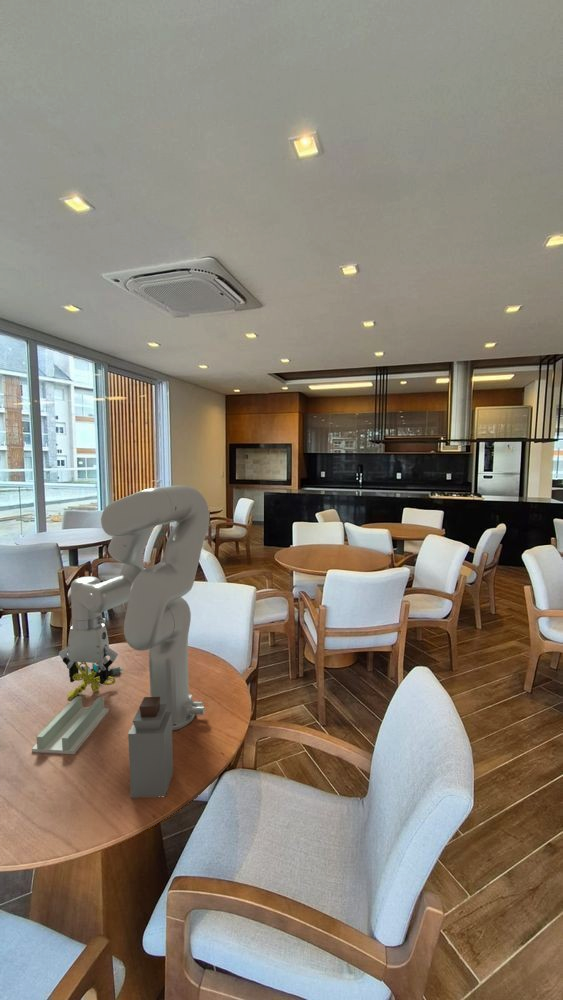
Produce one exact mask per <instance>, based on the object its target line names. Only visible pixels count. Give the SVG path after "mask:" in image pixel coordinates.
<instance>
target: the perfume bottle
mask: <svg viewBox="0 0 563 1000" xmlns="http://www.w3.org/2000/svg"><path fill="white" fill-rule="evenodd" d="M166 707H167V704H160V697H150V696H144V697H143V699H142V701H141V703H140V705H139V707H138V710H137V712H136V713H135V715H134V717H133V719H132V723H133V724H132V726H131V728H130V730H129V731H128V733H127V734H128V735H127V736H128V756H129V757H128V758H129V762H128V764H129V781H130V782H129V783H130V784H129V785H130V787H129V788H130V798H131V799H138V798H137V797H158V798H162V797H161V796H164V797H163V798H166V797H167V794H168V791H167V790H169V787H170V784H171V780H172V776H173V774H174V758H173V757H174V752H173V751H174V750H173V731H172V712H166ZM166 793H167V794H166ZM159 796H160V797H159ZM165 796H166V797H165ZM135 797H136V798H135Z"/></svg>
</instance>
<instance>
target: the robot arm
mask: <svg viewBox="0 0 563 1000" xmlns="http://www.w3.org/2000/svg"><path fill="white" fill-rule="evenodd" d="M173 522H176V523H175V526H174V528H173V529H172V530H171V532H170V534H169V536H168V538H167V540H166V543H165V549H164V553H163V557H162V559H161V560H160V561H159V562H158V563H157V564H154V565H151V566H147V567H146V568H145V565H144V561H143V558H142V555H143V553H144V551H145V548H146V546H147V545H148V542H149V540H150V538H151V535H152V532H153V531H154V528H155V527H157V526H160V525H165V524H170V523H173ZM100 523H101V527H102V530H103V531H104V533H105V534H106V535H107V536H110V537H112V538H111V540H110V542H109V544H108V547H107V552H108V553H109V555H110V556H111V558H112V559H114V560H115V561H117V562H118V563H122V564H123V565H122V568H121V569H120V572H119V575H117V576H116V577H111V578H110V579H107V580H105V581H101V580H100V578H98V577H96V576H81V577H79V578H75V579H74V580H73V581H71V583H70V601H71V605H70V606H71V625H72V626H70V628H69V633H68V641H67V642H68V643H67V646H66V647H64V648H63V649H61V650H60V651H59V652H58V655H59V657H60V659H62V662H63V663H64V664H65V665H66V668H67V669H68V677H69V682H70V683H74V682H75V681H76V680H74V679H73V676H74V674H76V673H77V674H79V673H80V671H79V669H78V668H77V666H76V662H79V663H81V662H83V663H84V662H86V663H91V664H92V663H98V665H99V666H100V668H101V670H100V679H99V681H100V683H101V684H100V683H99V684H100V685H103V683H104V682H106V681H107V679H108V677H109V669H108V667H110V666H111V665H112V664H113V663H114V662H115V660H116V659H117V657H118V656H119V653H117V652H116V651H115V650H113V649H111V648H110V644H109V643H110V642H109V636H108V631H107V630H108V629H107V627H106V622H107V619H106V618H105V617H103V614H102V613H104V612H107V611H108V610H111V609H113V608H115V607H118V606H120V605H122V604H125V603H127V606H126V611H125V616H124V622H123V634H124V638H125V640H126V643H127V644H128V645H129V646H130V648H132V649H133V650H136V651H140V652H143V651H148V650H149V651H148V652H149V653H148V664H149V665H148V666H149V667H148V668H149V670H148V671H149V694H150V695H149V697H160V704H167V707H166V712H172V732H173V731H174V732H175V731H177V730H179V729H182V728H183V727H185V726H187V725H188V724H190V723H192V721H193V719H194V718H195V717H196V716H195V715H199V716H204V715H205V711H206V706H204V705H203V703H204V702H203V701H195V700H193V694H189V692H190V691H189V661H188V660H189V651H188V650H189V648H188V646H189V632H190V627H191V626H190V625H191V617H192V614H191V608H190V606H189V604H188V602H187V601H186V599H184V598H183V596H185V595H187V594H188V593H189V592H190V591H191V590H192V588H193V586H194V583H195V579H196V574H197V572H198V566H199V563H200V558H201V555H202V554H201V553H202V549H203V546H204V543H205V540H206V535H207V532H208V530H209V524H210V510H209V505H208V503H207V501H206V498H205V497H204V495H203V494H202V492H200V491H199V490H197V489H196V488H194V487H192V486H189V485H170V486H169V485H168V486H163V487H162V486H159V487H150V488H147V489H143V490H139V491H137V492H134V493H133V494H130V495H127V496H125V497H122V498H120V499H116V500H114V501H112V502H110V503H109V504H108V505H107V506H105V508H104V509H103V511H102V512H101V518H100ZM107 656H108V657H110V658H107ZM108 659H109V660H108ZM103 662H104V663H103Z"/></svg>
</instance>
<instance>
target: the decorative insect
mask: <svg viewBox="0 0 563 1000" xmlns="http://www.w3.org/2000/svg"><path fill="white" fill-rule="evenodd" d="M82 665H85V666H86V669H85V668H84V666H82ZM76 666H77V668H78V671H79V674H77V673H76V674H74V676H73V679H74V680H75V681H83V682H81V684H80V685H79V686H78V687H77V688H75V689H73V690H71V691H69V693H68V695H67V700H69V701H70V700H73V699H74V698H75V697H76V696H78V694H81V693H82V692H83V691H85V690H86V688H87V686H88V685H89V684H90V683H91V684H90V688H91V690H92V692H93V693H98V691H99V690H100V685H103V686H110V685H114V684H115V683H116V678H115V677H113V676H111V675H110V676H109V677H108V679H107V680H106V681H105V682H104V683H103V684H101V683H100V677H96V678H94V675H96V672H94V671H92V672H91V673H89V674H88V667H87V666H88V665H87V662H80V664H79V663H78V662H76ZM81 667H82V668H84V670H85V672H84V671H83V670H82V669H81ZM86 670H87V671H86ZM84 679H85V681H84ZM109 681H110V682H109ZM99 684H100V685H99Z"/></svg>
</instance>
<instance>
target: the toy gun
mask: <svg viewBox="0 0 563 1000" xmlns="http://www.w3.org/2000/svg"><path fill="white" fill-rule="evenodd" d="M103 663H104V662H103ZM91 664H92V668H90V666H88V665H87V667H88V674H89V673H91V672H92V671H94V672H96V675H94V678H96V677H100V670H101V668H100V666H99V665H98V663H91ZM83 667H84V668H85V669H86V666H83ZM80 668H81V669H82V670H83V671H84V672H85V670H84V668H82V667H81V666H80ZM108 669H109V676H110V677H111V676H117V675H120V674H121V671H123V670H124V669H123V668H121V666H120V665H117V666H112V667H110V666H109V667H108ZM86 671H87V670H86ZM84 681H85V679H83V682H84Z"/></svg>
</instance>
